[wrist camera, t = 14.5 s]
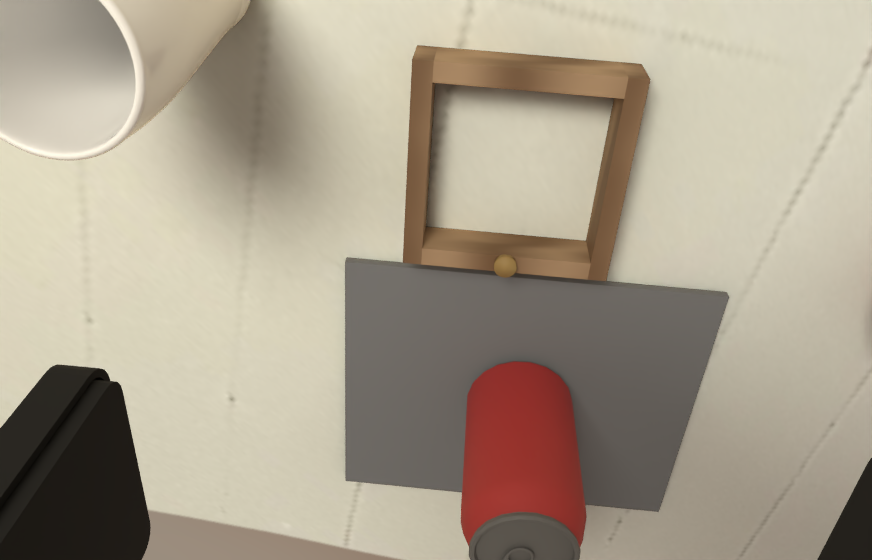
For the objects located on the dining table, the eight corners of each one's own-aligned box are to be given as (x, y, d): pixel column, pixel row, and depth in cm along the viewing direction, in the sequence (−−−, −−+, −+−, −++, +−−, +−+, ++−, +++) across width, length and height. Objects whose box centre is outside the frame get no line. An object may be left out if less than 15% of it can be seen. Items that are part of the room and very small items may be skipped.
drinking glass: (297, 12, 36) (188, 119, 24) (183, 67, 38) (25, 193, 25) (222, -133, 33) (50, -100, 20) (101, -66, 35) (-125, 1, 22)
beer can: (448, 410, 48) (435, 568, 38) (499, 339, 45) (499, 491, 35) (536, 448, 50) (546, 611, 39) (591, 382, 46) (617, 541, 36)
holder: (641, 63, 36) (651, 82, 34) (600, 259, 42) (606, 286, 40) (417, 45, 37) (411, 62, 34) (407, 242, 43) (401, 268, 40)
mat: (726, 292, 43) (728, 297, 42) (657, 506, 52) (658, 511, 52) (346, 257, 43) (345, 261, 43) (346, 475, 53) (345, 480, 53)
